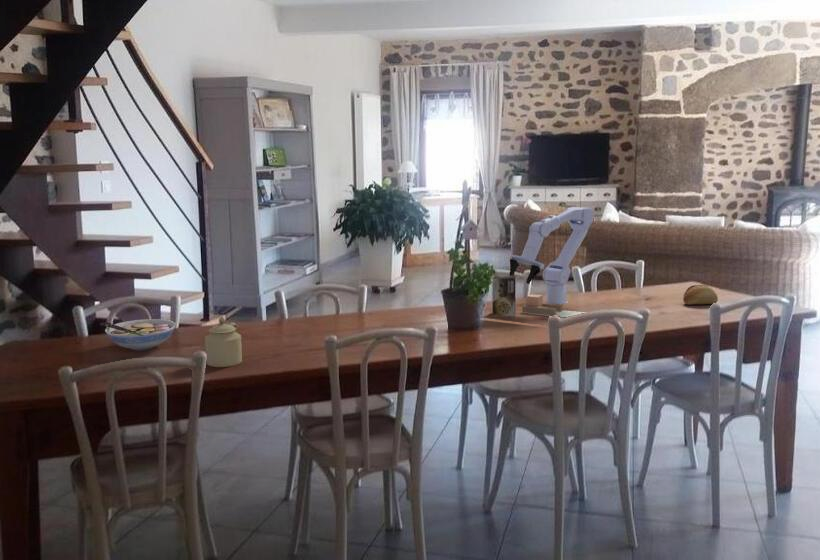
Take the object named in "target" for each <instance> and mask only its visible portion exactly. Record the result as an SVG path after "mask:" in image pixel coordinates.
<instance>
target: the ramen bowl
mask: <svg viewBox="0 0 820 560" xmlns="http://www.w3.org/2000/svg"><path fill="white" fill-rule="evenodd" d="M99 325H100V326H102V327H106V328H105V330H104V331H105V333H106V336H108V338H109V339H110V340H111V341H112V342H114V343H115V344H116V345H118V346H120V347H122V348H126V349H130V350H133V351H146V350H151V349H153V348H155V347H156V346H158V345H160V344H162V343H163V342H166V341H167V340H168V339H169V338H170V337H171V335H172V334H173V333H174V330H175V327H176V322H174V321H173V320H169V319H164V318H163V319H160V318H159V319H158V318H149V319H148V318H146V319H135V320H128V321H121V322H118V323H115V324H114V323H110V322H108V321H106V322H105V323H104V322H100V323H99Z"/></svg>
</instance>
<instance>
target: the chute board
mask: <svg viewBox="0 0 820 560" xmlns="http://www.w3.org/2000/svg"><path fill="white" fill-rule="evenodd" d="M521 310H522V312H521V314H529V315H539V316H548V317H551V316H550V315H557V316H560V317H559V318H563V317H568V316H573V315H577V314H581V313H586V312H583V311H573V310H565V309H564V304H553V303H546V302H544V301H543V303H542V307H539V306H530V305H526V304H524V305H522V309H521Z"/></svg>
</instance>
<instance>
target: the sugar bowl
mask: <svg viewBox="0 0 820 560" xmlns="http://www.w3.org/2000/svg"><path fill="white" fill-rule="evenodd" d="M218 322H219V324H217V325H214V326H212V327H211V328H210V329H208V332H209V334H208V335H206V336H205V338H204V346H205V355H206V354H207V361H206V365H207V366H209V367H212V368H227V367H233V366H238V365H239V364H241V363H242V362H243V352H242V351H243V350H242V347H243V346H242V335H241V334H240V333H238V332H239V331H238V325H237V323H235V322H229V323H228V324H226V323H225V322H226V318H224V316H222V315H221V316H220V317H219V319H218Z"/></svg>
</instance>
